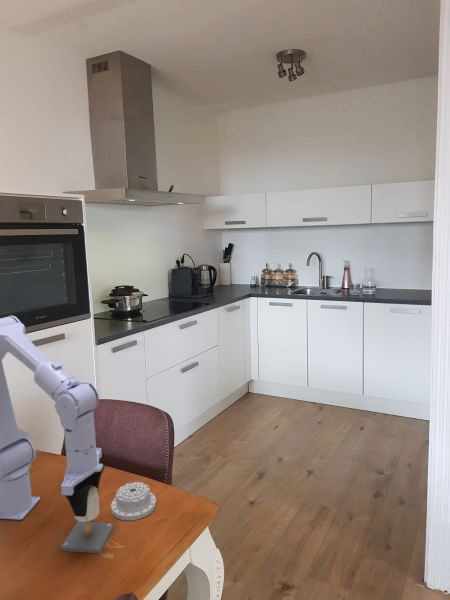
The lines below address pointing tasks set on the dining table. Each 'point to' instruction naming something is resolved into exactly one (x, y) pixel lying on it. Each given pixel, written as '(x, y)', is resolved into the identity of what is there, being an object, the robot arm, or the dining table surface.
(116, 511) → the mechanical component
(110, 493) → the dining table surface
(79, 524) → the plate
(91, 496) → the wire nut
